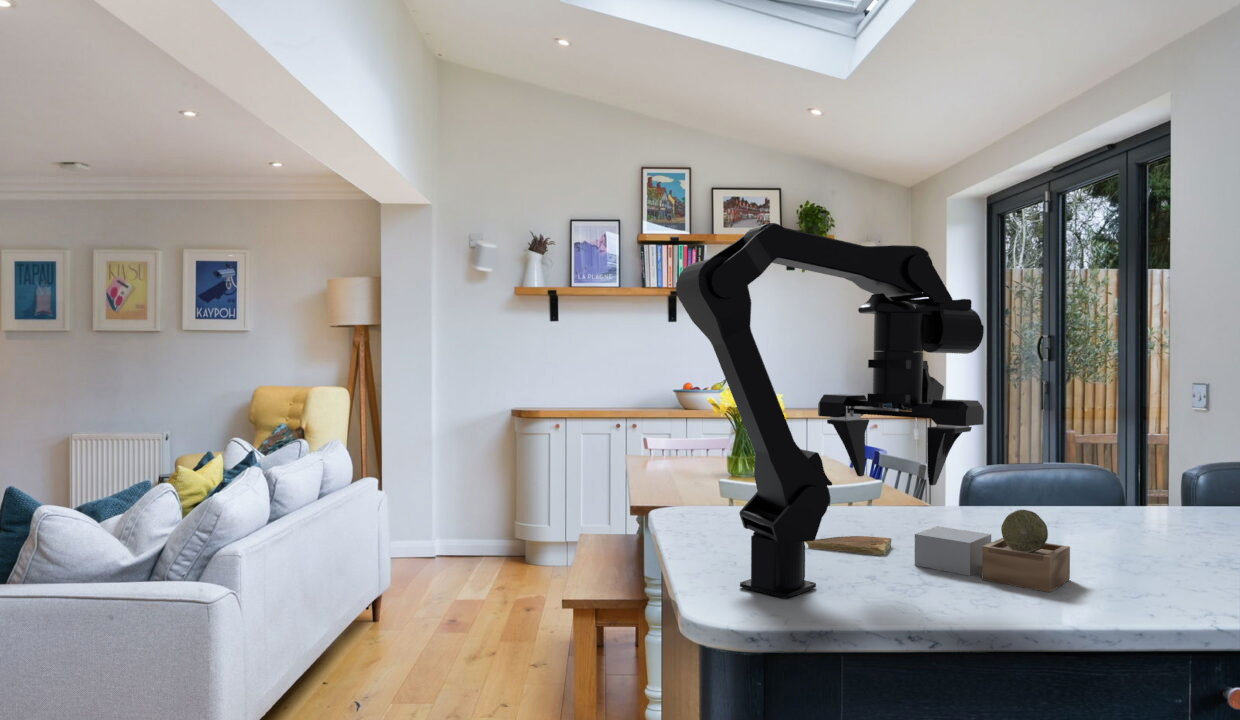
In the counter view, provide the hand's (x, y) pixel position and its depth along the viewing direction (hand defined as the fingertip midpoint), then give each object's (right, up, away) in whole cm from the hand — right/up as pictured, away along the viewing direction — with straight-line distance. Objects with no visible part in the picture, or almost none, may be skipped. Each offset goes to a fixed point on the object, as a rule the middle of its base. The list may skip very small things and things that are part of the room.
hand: (895, 480), depth 99 cm
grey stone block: (+9, -12, +6) cm, 16 cm away
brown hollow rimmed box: (+15, -12, -1) cm, 20 cm away
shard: (-1, -13, +14) cm, 19 cm away
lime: (+15, -9, -1) cm, 18 cm away
